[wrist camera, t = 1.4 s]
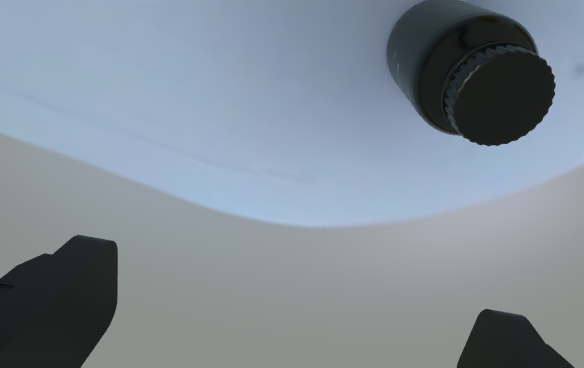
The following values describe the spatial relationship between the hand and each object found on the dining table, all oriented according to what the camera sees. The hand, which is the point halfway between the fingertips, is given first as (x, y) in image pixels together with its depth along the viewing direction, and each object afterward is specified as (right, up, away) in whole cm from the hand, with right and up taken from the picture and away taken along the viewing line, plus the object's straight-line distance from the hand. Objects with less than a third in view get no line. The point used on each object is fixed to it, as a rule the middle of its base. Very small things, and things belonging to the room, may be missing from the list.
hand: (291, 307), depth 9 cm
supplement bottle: (+10, +13, +20) cm, 26 cm away
